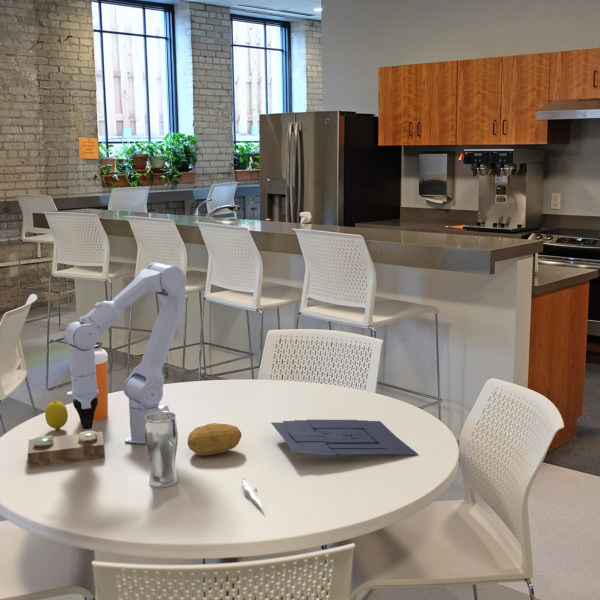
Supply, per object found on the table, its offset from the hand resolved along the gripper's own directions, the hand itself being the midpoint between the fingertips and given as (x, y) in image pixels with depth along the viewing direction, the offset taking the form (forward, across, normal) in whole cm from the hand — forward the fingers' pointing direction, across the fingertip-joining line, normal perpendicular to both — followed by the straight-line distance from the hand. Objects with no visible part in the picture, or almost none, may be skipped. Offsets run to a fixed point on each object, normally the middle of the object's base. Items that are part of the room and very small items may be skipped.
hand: (87, 428), depth 192 cm
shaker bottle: (+6, -27, +2) cm, 27 cm away
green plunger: (+6, 0, -10) cm, 12 cm away
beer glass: (+6, +22, +15) cm, 27 cm away
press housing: (+6, 0, -5) cm, 8 cm away
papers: (+7, +14, +59) cm, 61 cm away
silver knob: (+6, 0, 0) cm, 6 cm away
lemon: (+6, -19, -7) cm, 22 cm away
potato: (+7, +9, +29) cm, 31 cm away
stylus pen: (+7, +36, +32) cm, 49 cm away
